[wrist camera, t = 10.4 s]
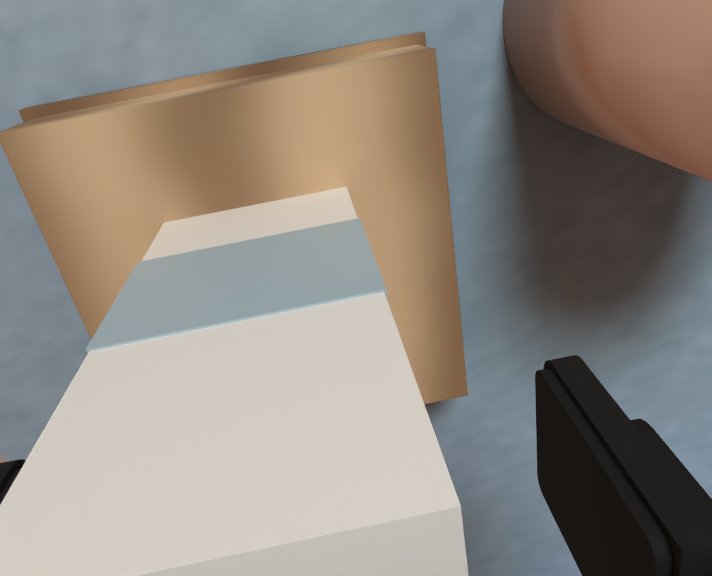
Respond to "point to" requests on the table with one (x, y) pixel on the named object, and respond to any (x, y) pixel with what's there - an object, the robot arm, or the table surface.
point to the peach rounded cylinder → (620, 71)
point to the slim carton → (241, 417)
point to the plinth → (258, 175)
